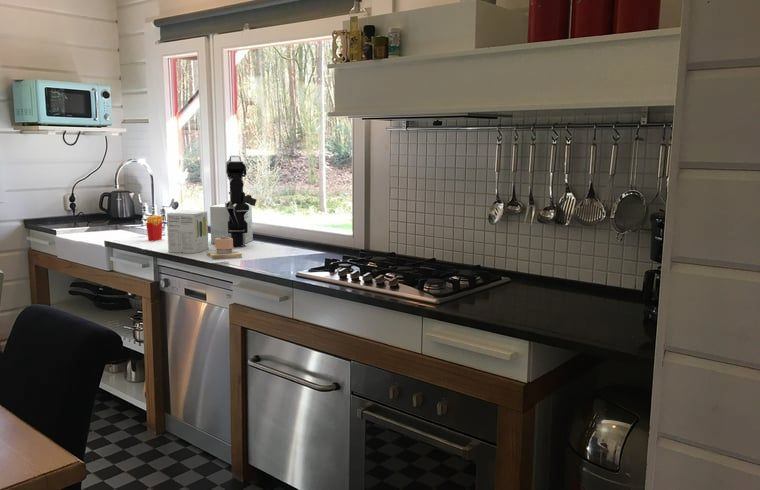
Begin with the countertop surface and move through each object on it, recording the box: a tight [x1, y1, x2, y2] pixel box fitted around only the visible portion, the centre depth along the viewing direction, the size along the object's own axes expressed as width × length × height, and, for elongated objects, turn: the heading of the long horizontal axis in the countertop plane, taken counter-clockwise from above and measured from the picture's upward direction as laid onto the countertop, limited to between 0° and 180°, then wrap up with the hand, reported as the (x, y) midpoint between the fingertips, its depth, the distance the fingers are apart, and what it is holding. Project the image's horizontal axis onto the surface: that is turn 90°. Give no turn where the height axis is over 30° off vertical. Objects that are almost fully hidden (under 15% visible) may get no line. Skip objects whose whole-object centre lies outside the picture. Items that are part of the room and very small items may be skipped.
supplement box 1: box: [166, 209, 209, 254], centre depth 285 cm, size 13×13×18 cm
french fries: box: [145, 214, 164, 242], centre depth 317 cm, size 8×4×12 cm, turn 143°
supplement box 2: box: [209, 203, 254, 245], centre depth 312 cm, size 17×13×18 cm
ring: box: [214, 238, 234, 249], centre depth 272 cm, size 7×7×4 cm
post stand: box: [206, 236, 243, 260], centre depth 272 cm, size 12×12×8 cm
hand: (237, 225), depth 282 cm, fingers open, 9 cm apart
